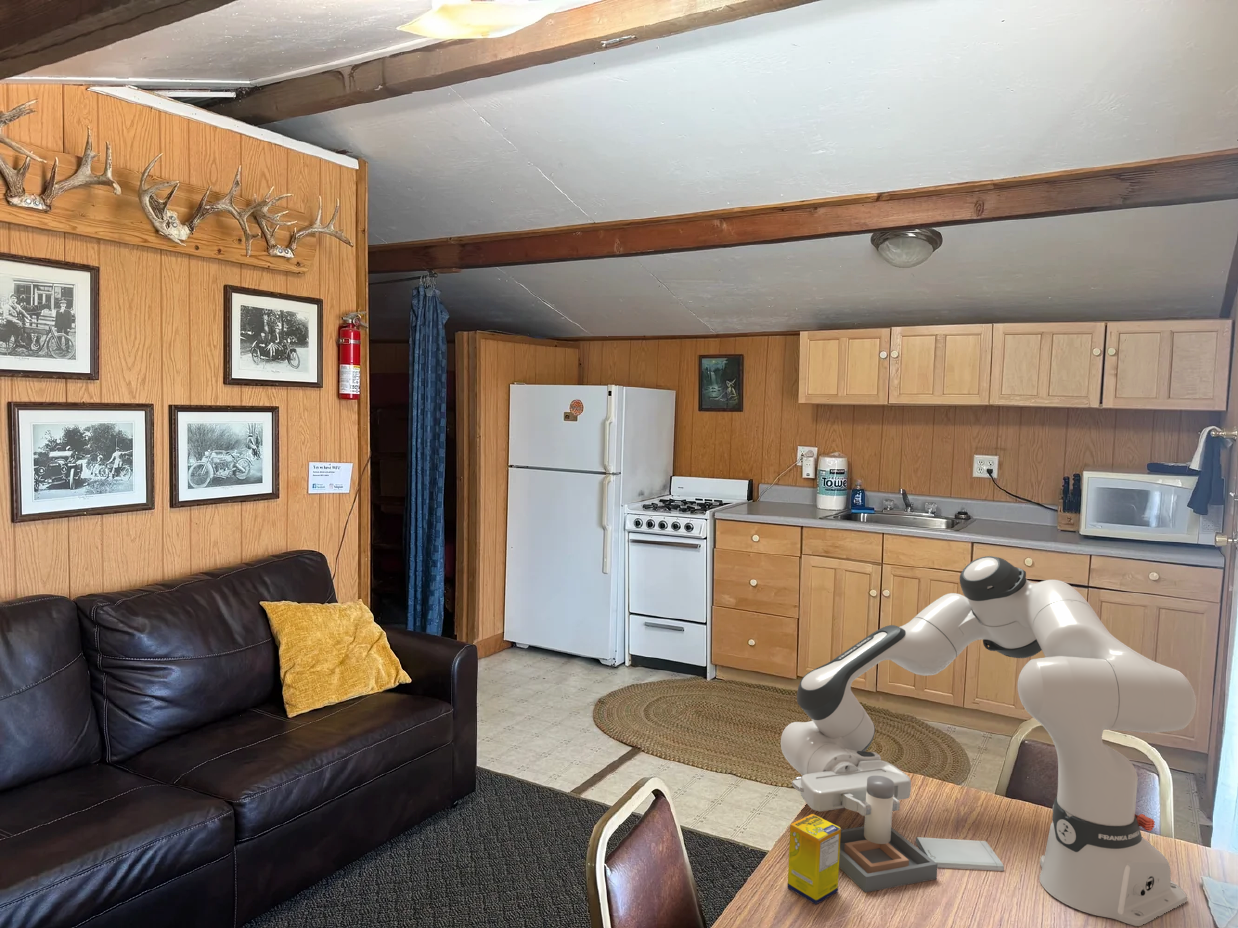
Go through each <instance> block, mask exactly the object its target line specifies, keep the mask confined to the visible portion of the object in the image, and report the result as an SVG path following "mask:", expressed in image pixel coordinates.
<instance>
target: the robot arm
mask: <svg viewBox="0 0 1238 928" xmlns="http://www.w3.org/2000/svg"><path fill="white" fill-rule="evenodd" d="M1026 577H1027V572H1026V571H1025V570H1024V569H1023V568H1020V567H1016V566H1014V565H1013V564H1012V563H1010V562H1009V561H1007V560H1005V559H1004V558H1001V557H998V556H992V555H991V556H990V555H989V556H982V557H979V558H976V559H974V560H972V561H970V562H969V563H967V565H965V567H964V568H963V569H962V571H961V573H960V574H959V584H960V588H961V591H962V594H960V593H955V592H950V593H946V594H944V595H942V596H941V597H938V598H937V599H935V600H934V601H932V602H930V604H929V605H927V606H926V607H924V608H923V609H922V610H920V611H919V612H918V614H916V615H915V616H914V617H913V618H912V619H911V620H910V621H908V622H907V623H905V624H903V625H901V626H898V625H895V624H891V625H886V626H883V627H881V628H878V629H877V630H875V631H873V632H872V633H870V634H869V635H867V636H866V637H864V638H863V639H861V640H860V641H858V642H857V643H856V644H854V645H852V646H851V647H849V648H848V649H846V650H845V651H843V652H842V653H841V654H839V655H838V656H836V657H835V658H833V659H832V660H830V661H829V662H827V663H825V664H823V665H821V666H819V667H816V668H814V669H813V670H811V671H809V672H807V673H806V674H805V675H804V676H802V678H801V679H800V682H799V683H798V688H797V692H796V702H797V704H798V706H799V707H800V708H801V709H802V710H803V712H804V713H805V714H806V715H807V717H809V718H810V721H804V722H803V721H794V722H791V723H789V724H788V725H787V726H785V728H784V729H783V731H782V733H781V737H780V748H781V752H782V754H783V756H784V758H785V759H786V760H787V762H788V763H789V765H790V766H792V767H793V769H794V770H796V771H797V772H798V773H800V776H797V777H795V778H794V779H793V780H792V781H791V785H792V787H793V788H794V789H796V790H797V791H798V792H799V793H800V796H801V798H802V799H803V800H804V802H805V803H806V804H807V806H809V808H810V809H811V810H813V811H815V812H816V811H817V812H827V811H832V810H833V811H834V810H840V809H847V810H849V811H853V812H857V813H859V815H861V816H864V817H865V815H870V814H871V811H870V810H871V806H870V804H868V803H867V802H866V790H867V778H868V777H870V776H883V777H887V778H889V779H891V780H892V781H893V782H894V792H893V808H892V812H896V811H899V810H900V805H901V803H900V800H908V799H909V798H910V796H911V790H912V781H911V778H910V777H909V775H907V774H906V773H905V771H902V770H901V769H899V768H898V767H897V766H895V765H893V764H892V763H890V762H889V761H886V760H882V759H881V755H880V754H878V753H877V752H875V751H868V748H869V747H870V746H871V744H872V743H873V740H874V738H875V733H876V727H875V724H874V722H873V719H871V717H870V716H869V714H868V712H867V711H866V709H864V706H862V704H861V703H860V702H859V700H858V698H857V697H856V696H855V694H854V693H853V691H852V683H853V682H854V681H855V680H857V679H858V678H859V677H860V676H862V675H864V674H865V673H867V672H868V671H869V670H870V669H872V668H873V667H875V666H876V665H878V664H879V663H881V662H883V661H891V662H892V663H895V664H896V665H897V666H899V667H901V668H903V670H906V671H908V672H910V673H912V674H915V675H918V676H924V677H925V676H934V675H937V674H939V673H941V672H942V671H944V670H945V669H946V668H948V667H949V666H950V664H951V663H953V662H954V661H955V660H956V658H957V657H958V656H959V655H961V653H962V652H963V651H964V650H965V649H966V647H968V646H969V645H970V644H972V643H973V642H976V641H979V640H982V643H983V646H984V648H985V649H986V650H988V651H991V652H997V653H999V654H1001V655H1003V656H1005V657H1009V658H1014V659H1028V658H1030V657H1034V656H1035V655H1038V654H1039V653H1040V652H1041V651H1042V653H1043V655H1044V657H1039V658H1032V659H1030V660H1028V662H1026V664H1025V665H1024V666H1023V667H1022V669H1021V671H1020V673H1019V675H1018V678H1017V679H1018V680H1017V685H1016V686H1017V694H1018V698H1019V701H1020V702H1021V705H1022V706H1023V708H1024V709H1025V711H1026V712H1027V713H1028V714H1029V715H1030V717H1032V718H1033V719H1034V720H1035V721H1037V722H1038V723H1039V724H1040V725H1041V726H1042V727H1043V728H1044V729H1045V731H1046V732H1047V733H1048V735H1049V737H1050V739H1051V740H1052V742H1053V745H1054V748H1055V751H1056V756H1057V767H1058V768H1057V771H1058V772H1057V773H1058V774H1057V794H1056V795H1057V796H1056V797H1054V801H1053V805H1052V808H1051V809H1052V818H1051V820H1052V822H1051V823H1050V828H1049V831H1048V836H1047V841H1046V848H1045V853H1044V854H1042V855H1041V856H1040V859H1039V864H1040V867H1041V871H1040V874H1039V882H1040V884H1041V885H1042V887H1043V888H1044V889H1045V890H1046V892H1047V893H1048V894H1050V896H1052V897H1053V898H1055V899H1057V900H1058V901H1059V902H1061V903H1063V904H1065V905H1067V906H1069V907H1071V908H1073V909H1075V910H1078V911H1081V912H1084V913H1086V914H1090V915H1093V916H1098V917H1103V918H1109V919H1113V920H1116V921H1119V922H1122V923H1125V924H1127V925H1130V926H1135V927H1140V926H1144V925H1145V924H1148V923H1149V922H1152V921H1153V920H1155V919H1157V918H1158V917H1157V916H1159V917H1161V916H1164V915H1165V914H1166V912H1167V913H1169V912H1170V910H1171V909H1173V908H1175V909H1176V908H1178V907H1180V906H1181V905H1180V904H1182V903H1184V904H1185V902H1186V901H1187V902H1188V895H1187V894H1186V892H1185V891H1184V890H1183V888H1181V886H1179V885H1178V884H1177V883H1176V882H1174V881H1173V880H1172V879H1171V877H1172V876H1171V874H1172V873H1171V866H1170V863H1169V860H1168V859H1167V857H1166V856H1165V855H1164V854H1163V853H1162V852H1161V851H1160V850H1158V849H1157V848H1156V846H1153V844H1151V843H1150V842H1149V841H1148V840H1146V839H1145V838H1144V837H1143V836H1142V832H1141V829H1140V827H1142V828H1143V829H1144V830H1145V831H1147V832H1151V831H1152V830H1153V828H1155V825H1156V824H1155V821H1154V819H1153V818H1151V817H1148V816H1146V815H1145V814H1143V813H1140V814H1139V815H1138V814H1136V803H1137V793H1138V780H1139V778H1138V774H1137V771H1136V768H1135V766H1134V764H1133V763H1132V762H1131V761H1130V760H1129V759H1128V757H1126V756H1125V755H1123V754H1122V753H1121V752H1119V751H1118V750H1116V749H1114V748H1113V747H1111V746H1108V745H1107V744H1105V743H1103V733H1104V731H1105V730H1107V731H1108V730H1113V731H1122V732H1123V731H1124V732H1133V733H1134V732H1135V733H1136V732H1137V733H1146V734H1147V733H1149V734H1154V733H1164V732H1165V733H1167V732H1175V731H1181V730H1184V729H1185V728H1186V727H1188V726H1189V724H1190V723H1191V722H1192V720H1193V719H1194V717H1195V714H1196V709H1197V696H1196V693H1195V690H1194V687H1193V685H1192V684H1191V682H1190V681H1189V679H1188V678H1187V676H1185V675H1184V674H1183V673H1182V672H1181V671H1179V670H1178V669H1175V668H1172V667H1170V666H1167V665H1164V664H1161V663H1159V662H1156V661H1154V660H1152V659H1150V658H1149V657H1146V656H1145V655H1143V654H1141V653H1139V652H1137V651H1136V650H1134V649H1132V648H1131V647H1129V646H1128V645H1126V644H1125V643H1123V642H1122V641H1121V640H1119V639H1118V638H1117V637H1115V636H1114V635H1113V634H1112V633H1111V632H1110V631H1109V630H1108V629H1107V627H1106V626H1105V624H1104V623H1103V622H1102V620H1101V619H1100V618H1099V616H1098V614H1097V613H1096V612H1095V610H1094V608H1093V607H1092V606H1091V605H1090V603H1089V602H1088V600H1086V599H1085V598H1084V596H1083V595H1082V594H1081V593H1080V592H1079V591H1078V590H1077V589H1075V588H1074V587H1073V586H1071V585H1070V584H1069V583H1067V582H1065V581H1062V580H1060V579H1059V580H1058V579H1047V580H1046V579H1045V580H1041V581H1039V582H1031V581H1029V580H1028V579H1027V578H1026ZM801 775H802V776H801ZM1187 902H1186V903H1187ZM1179 905H1180V906H1179ZM1182 905H1183V904H1182ZM1177 906H1178V907H1177ZM1173 910H1174V909H1173ZM1168 911H1169V912H1168ZM1171 911H1172V910H1171ZM1164 913H1165V914H1164ZM1156 917H1157V918H1156ZM1154 918H1155V919H1154ZM1143 924H1144V925H1143Z"/></svg>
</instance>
